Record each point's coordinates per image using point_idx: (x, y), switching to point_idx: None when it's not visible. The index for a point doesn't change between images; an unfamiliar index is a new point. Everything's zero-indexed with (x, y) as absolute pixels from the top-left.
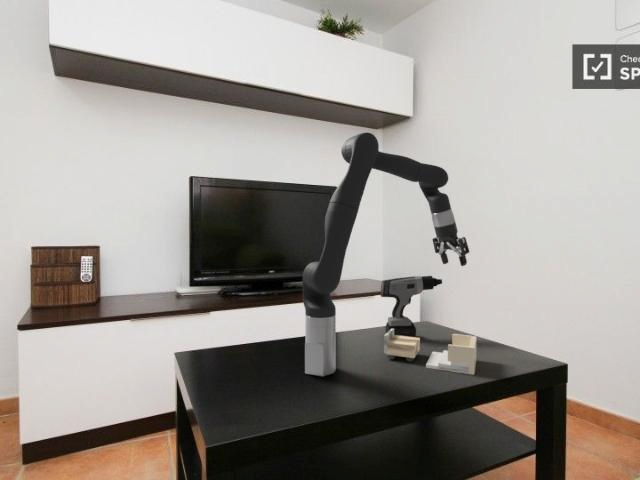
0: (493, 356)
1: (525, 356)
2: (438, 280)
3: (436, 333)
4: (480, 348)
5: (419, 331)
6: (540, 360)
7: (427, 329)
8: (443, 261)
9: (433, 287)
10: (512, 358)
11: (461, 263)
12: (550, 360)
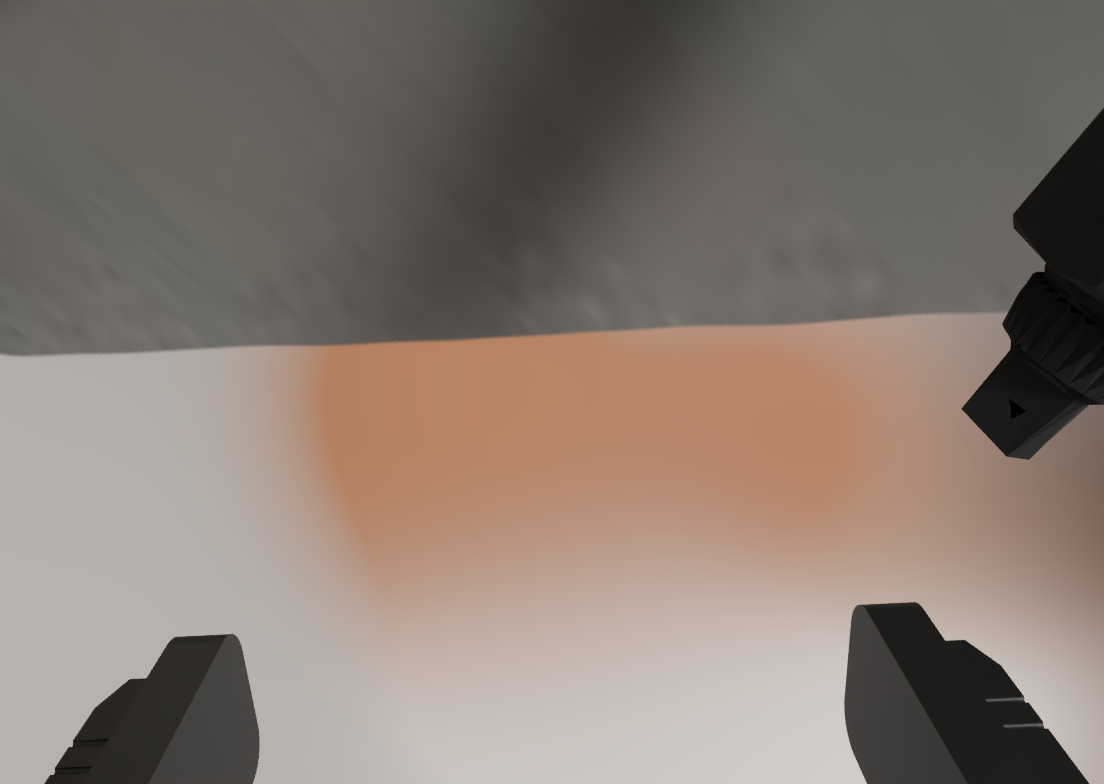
0: (191, 81)
1: (149, 283)
2: (1036, 394)
3: (907, 129)
4: (398, 147)
5: (1067, 26)
6: (56, 300)
7: (1048, 147)
8: (905, 647)
9: (1016, 216)
10: (121, 173)
11: (156, 677)
12: (50, 349)
